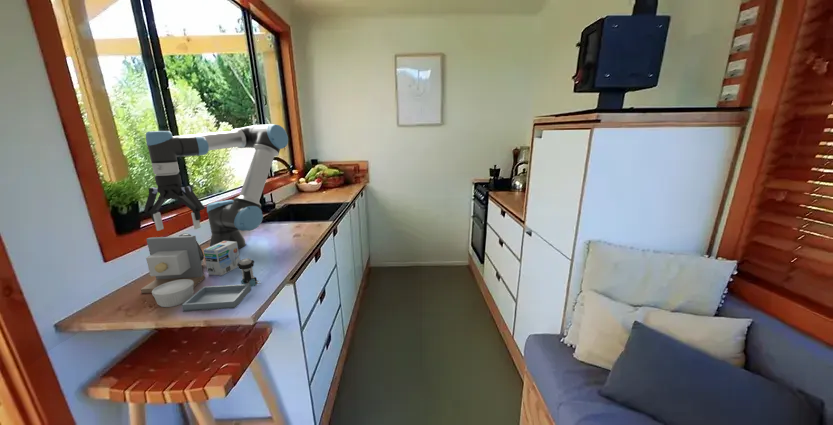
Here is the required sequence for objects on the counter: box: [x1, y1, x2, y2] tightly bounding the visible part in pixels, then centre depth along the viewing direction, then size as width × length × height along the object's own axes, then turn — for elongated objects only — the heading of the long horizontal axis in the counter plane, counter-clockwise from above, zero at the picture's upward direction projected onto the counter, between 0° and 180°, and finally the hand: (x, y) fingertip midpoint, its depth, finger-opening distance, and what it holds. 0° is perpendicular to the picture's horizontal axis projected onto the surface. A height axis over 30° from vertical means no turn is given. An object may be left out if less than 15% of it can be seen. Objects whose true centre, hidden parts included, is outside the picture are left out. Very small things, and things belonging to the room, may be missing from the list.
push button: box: [237, 257, 262, 288], centre depth 112 cm, size 7×5×10 cm
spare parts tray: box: [181, 284, 252, 313], centre depth 104 cm, size 12×16×2 cm
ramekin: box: [151, 279, 194, 308], centre depth 104 cm, size 11×11×5 cm
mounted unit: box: [140, 235, 206, 294], centre depth 113 cm, size 10×16×18 cm, turn 95°
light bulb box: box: [202, 241, 241, 276], centre depth 126 cm, size 11×7×11 cm, turn 168°
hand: (179, 229), depth 120 cm, fingers open, 13 cm apart
